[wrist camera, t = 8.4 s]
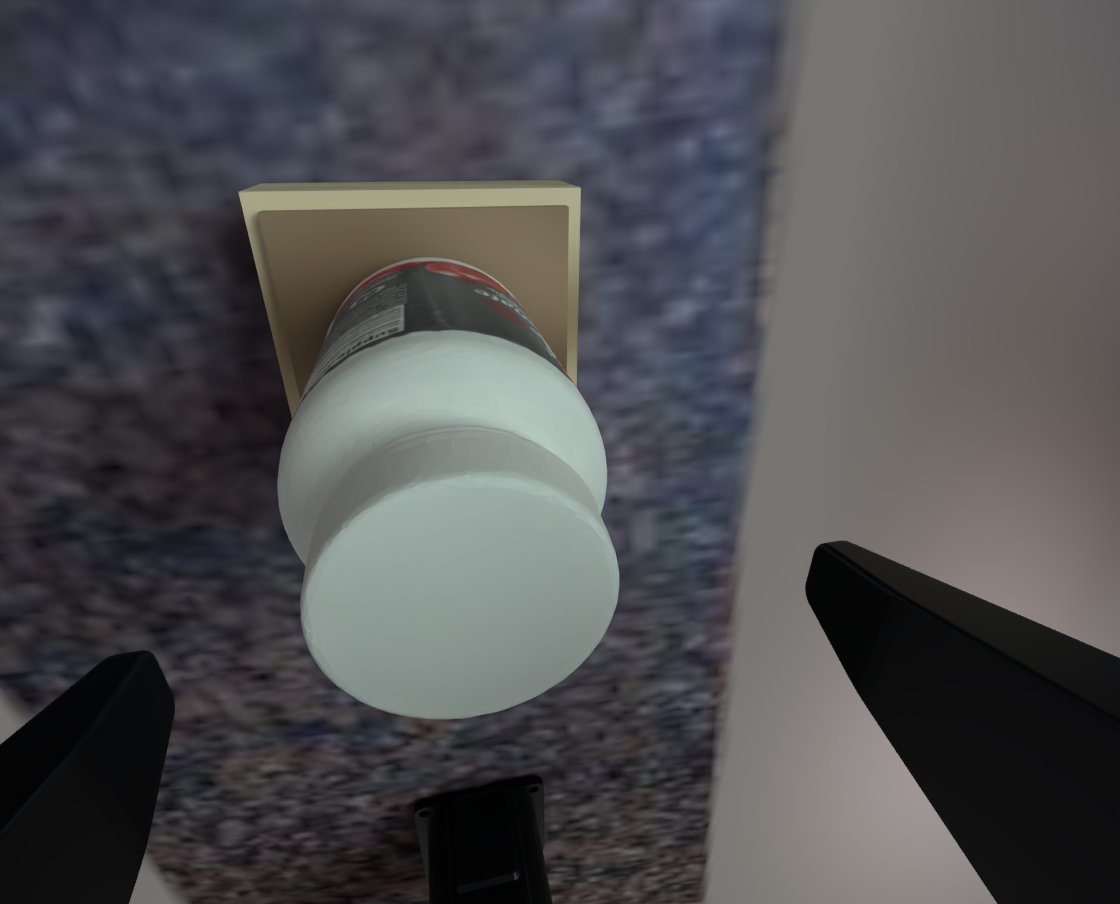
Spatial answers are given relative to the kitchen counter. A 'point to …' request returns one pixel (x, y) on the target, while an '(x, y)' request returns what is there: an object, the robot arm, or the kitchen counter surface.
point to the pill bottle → (445, 499)
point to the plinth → (409, 251)
